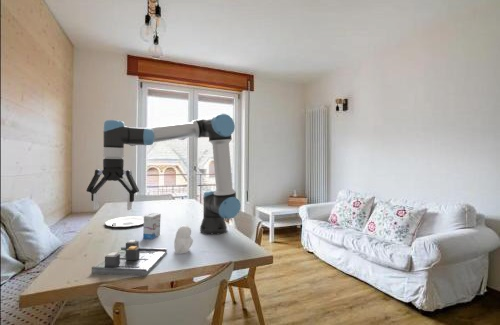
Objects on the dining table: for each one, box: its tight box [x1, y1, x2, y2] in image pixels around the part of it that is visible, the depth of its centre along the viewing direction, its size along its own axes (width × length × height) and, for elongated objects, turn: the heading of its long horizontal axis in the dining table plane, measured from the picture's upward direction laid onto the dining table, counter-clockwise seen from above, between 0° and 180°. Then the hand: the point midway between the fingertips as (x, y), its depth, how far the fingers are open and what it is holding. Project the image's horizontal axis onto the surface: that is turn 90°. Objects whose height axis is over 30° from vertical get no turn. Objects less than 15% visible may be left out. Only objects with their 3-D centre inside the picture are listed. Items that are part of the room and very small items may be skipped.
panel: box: [91, 246, 168, 277], centre depth 106 cm, size 20×21×2 cm
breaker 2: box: [125, 239, 139, 249], centre depth 113 cm, size 4×3×5 cm
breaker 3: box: [126, 246, 140, 260], centre depth 106 cm, size 4×3×5 cm
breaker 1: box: [104, 251, 120, 267], centre depth 98 cm, size 4×3×5 cm
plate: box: [104, 215, 144, 229], centre depth 164 cm, size 25×25×2 cm
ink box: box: [142, 212, 162, 240], centre depth 139 cm, size 9×5×12 cm, turn 168°
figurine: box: [173, 224, 194, 255], centre depth 119 cm, size 7×8×12 cm
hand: (112, 209), depth 110 cm, fingers open, 13 cm apart
